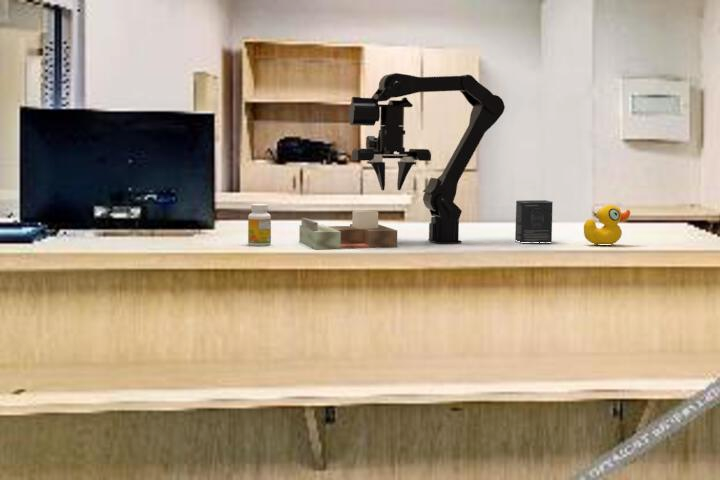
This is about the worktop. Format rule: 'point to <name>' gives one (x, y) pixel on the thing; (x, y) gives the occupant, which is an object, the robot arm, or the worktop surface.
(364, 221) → the cream block
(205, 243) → the worktop surface
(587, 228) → the duckling
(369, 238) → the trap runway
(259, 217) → the supplement bottle
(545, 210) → the box
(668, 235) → the worktop surface
